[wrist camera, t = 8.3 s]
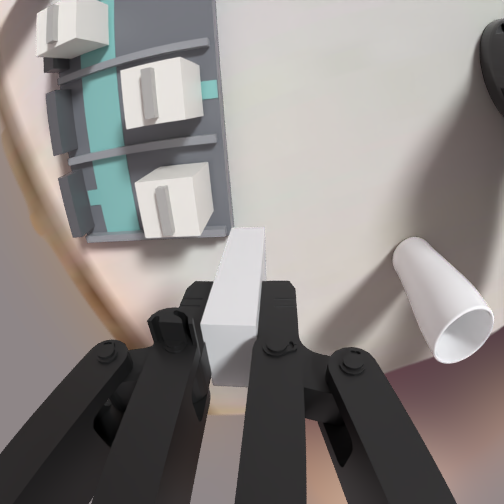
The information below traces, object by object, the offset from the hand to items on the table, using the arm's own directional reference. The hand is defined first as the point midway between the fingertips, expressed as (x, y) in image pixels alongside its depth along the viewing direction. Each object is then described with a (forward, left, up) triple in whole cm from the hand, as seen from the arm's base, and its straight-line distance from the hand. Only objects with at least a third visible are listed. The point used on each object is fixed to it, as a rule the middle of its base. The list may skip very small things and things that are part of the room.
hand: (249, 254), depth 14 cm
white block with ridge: (+8, -9, -16) cm, 20 cm away
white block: (+17, -18, -16) cm, 29 cm away
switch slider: (+8, +1, -16) cm, 18 cm away
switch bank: (+13, -9, -18) cm, 24 cm away
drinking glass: (-17, +10, -19) cm, 27 cm away
